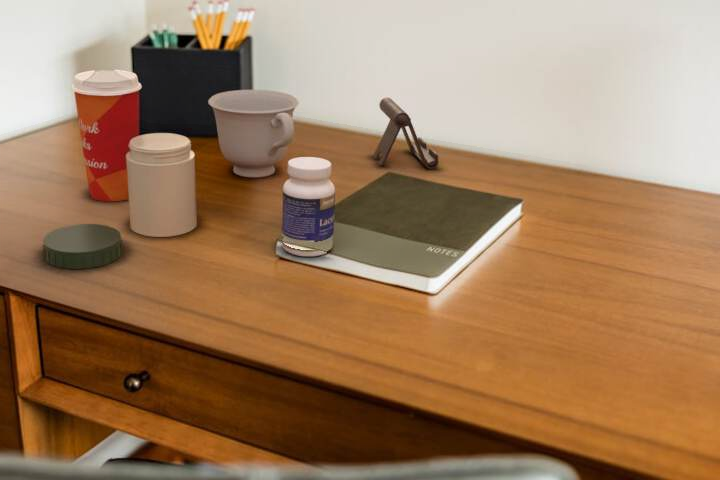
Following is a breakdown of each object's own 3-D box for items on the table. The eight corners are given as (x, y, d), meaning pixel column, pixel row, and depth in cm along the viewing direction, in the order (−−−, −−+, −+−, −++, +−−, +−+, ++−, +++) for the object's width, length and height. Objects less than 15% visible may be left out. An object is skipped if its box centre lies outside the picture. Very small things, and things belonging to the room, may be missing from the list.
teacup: (250, 197, 114) (249, 121, 110) (194, 166, 125) (191, 95, 121) (327, 181, 121) (329, 109, 117) (267, 153, 132) (267, 85, 128)
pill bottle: (329, 260, 97) (332, 172, 93) (277, 256, 97) (278, 168, 94) (336, 240, 102) (339, 156, 98) (286, 236, 103) (287, 152, 99)
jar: (127, 238, 101) (121, 151, 97) (132, 213, 108) (127, 131, 104) (196, 236, 102) (193, 150, 98) (197, 212, 109) (194, 131, 105)
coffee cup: (79, 185, 116) (69, 69, 110) (144, 180, 118) (137, 67, 113) (81, 207, 109) (71, 84, 103) (151, 202, 111) (144, 82, 105)
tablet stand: (438, 169, 128) (442, 112, 124) (384, 171, 126) (387, 113, 123) (420, 151, 135) (424, 96, 132) (369, 153, 134) (372, 97, 131)
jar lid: (138, 252, 97) (137, 236, 96) (76, 276, 91) (74, 259, 90) (90, 233, 101) (89, 218, 101) (28, 255, 95) (26, 238, 95)
